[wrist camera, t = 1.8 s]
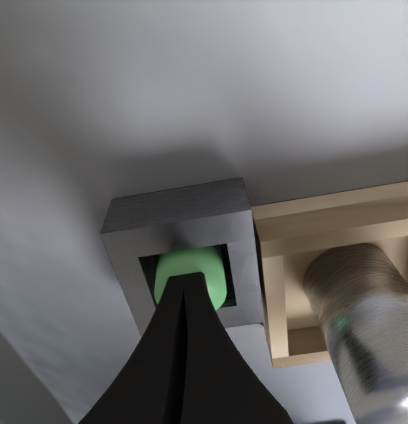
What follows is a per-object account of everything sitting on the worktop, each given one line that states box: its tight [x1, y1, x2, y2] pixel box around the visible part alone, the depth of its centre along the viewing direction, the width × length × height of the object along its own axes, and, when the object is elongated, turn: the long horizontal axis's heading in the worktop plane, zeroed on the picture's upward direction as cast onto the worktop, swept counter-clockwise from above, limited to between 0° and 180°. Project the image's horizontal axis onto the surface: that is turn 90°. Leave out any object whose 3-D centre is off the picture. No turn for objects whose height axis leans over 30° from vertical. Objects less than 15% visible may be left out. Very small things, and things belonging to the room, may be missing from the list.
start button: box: [154, 244, 227, 310], centre depth 15 cm, size 3×3×3 cm
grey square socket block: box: [100, 178, 264, 337], centre depth 15 cm, size 6×6×2 cm
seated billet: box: [303, 243, 408, 424], centre depth 14 cm, size 4×4×6 cm
